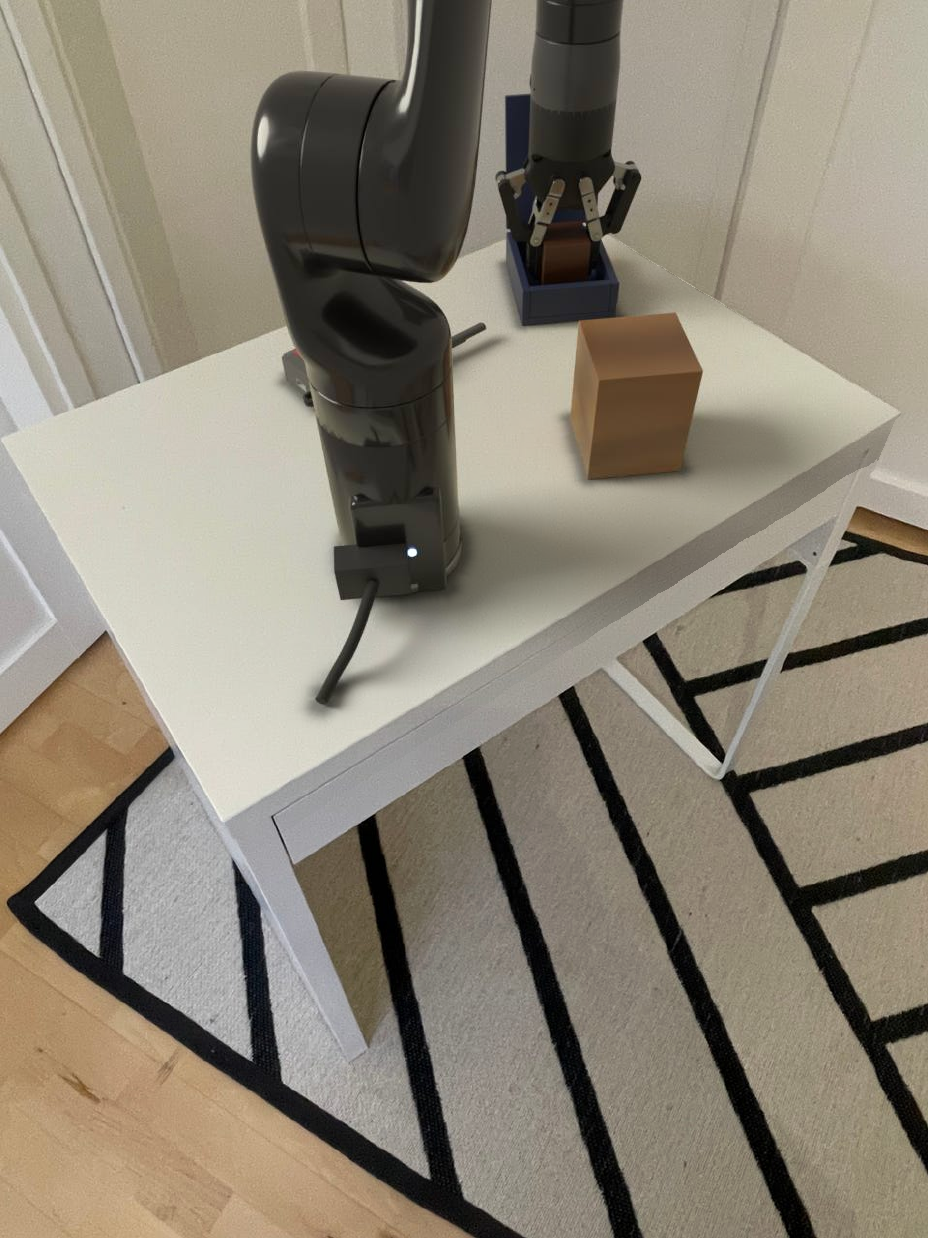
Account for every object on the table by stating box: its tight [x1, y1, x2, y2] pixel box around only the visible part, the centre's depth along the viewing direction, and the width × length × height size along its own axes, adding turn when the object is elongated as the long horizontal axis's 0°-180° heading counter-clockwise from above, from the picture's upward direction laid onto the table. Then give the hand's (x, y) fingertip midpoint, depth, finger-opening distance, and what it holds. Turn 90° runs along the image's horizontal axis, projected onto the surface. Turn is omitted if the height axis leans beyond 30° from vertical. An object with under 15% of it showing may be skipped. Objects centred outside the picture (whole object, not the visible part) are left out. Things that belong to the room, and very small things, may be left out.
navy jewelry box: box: [505, 225, 620, 326], centre depth 89 cm, size 12×10×4 cm
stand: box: [569, 312, 704, 480], centre depth 71 cm, size 8×8×10 cm
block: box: [540, 221, 591, 285], centre depth 86 cm, size 4×4×4 cm
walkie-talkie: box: [281, 322, 487, 408], centre depth 81 cm, size 9×4×20 cm
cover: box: [504, 93, 599, 230], centre depth 88 cm, size 12×10×5 cm
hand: (561, 272), depth 87 cm, fingers closed on block, 4 cm apart
